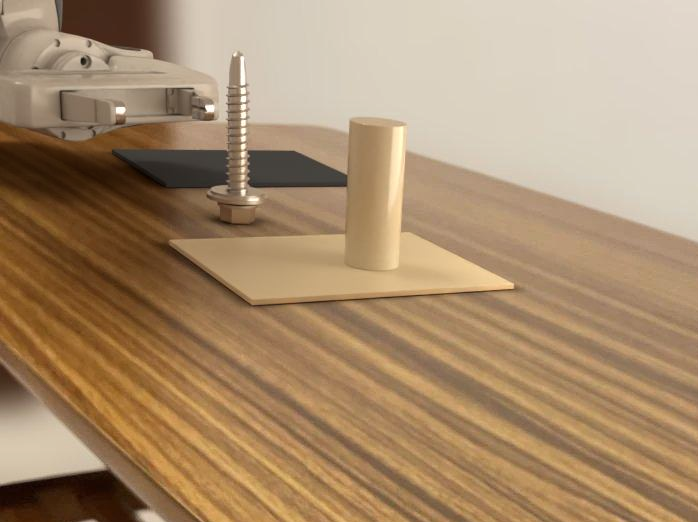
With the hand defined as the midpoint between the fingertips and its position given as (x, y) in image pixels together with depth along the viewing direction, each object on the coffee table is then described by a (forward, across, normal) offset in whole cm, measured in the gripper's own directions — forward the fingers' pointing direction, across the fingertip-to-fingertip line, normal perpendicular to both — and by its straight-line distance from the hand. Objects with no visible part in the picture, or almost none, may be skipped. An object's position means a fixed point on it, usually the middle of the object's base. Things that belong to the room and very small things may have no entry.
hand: (166, 112), depth 101 cm
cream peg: (+25, -2, +7) cm, 26 cm away
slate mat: (-8, +15, +7) cm, 18 cm away
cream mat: (+23, -3, +7) cm, 25 cm away
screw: (+8, 0, +7) cm, 11 cm away
